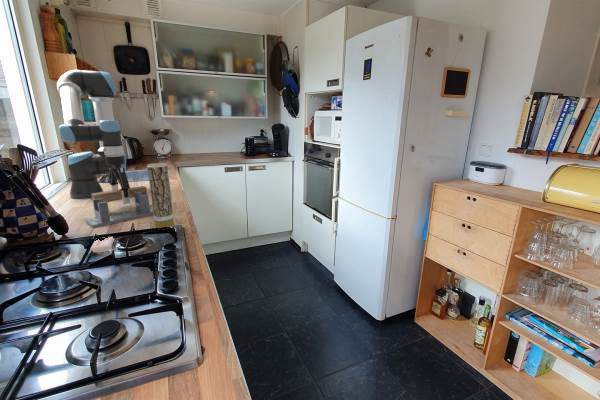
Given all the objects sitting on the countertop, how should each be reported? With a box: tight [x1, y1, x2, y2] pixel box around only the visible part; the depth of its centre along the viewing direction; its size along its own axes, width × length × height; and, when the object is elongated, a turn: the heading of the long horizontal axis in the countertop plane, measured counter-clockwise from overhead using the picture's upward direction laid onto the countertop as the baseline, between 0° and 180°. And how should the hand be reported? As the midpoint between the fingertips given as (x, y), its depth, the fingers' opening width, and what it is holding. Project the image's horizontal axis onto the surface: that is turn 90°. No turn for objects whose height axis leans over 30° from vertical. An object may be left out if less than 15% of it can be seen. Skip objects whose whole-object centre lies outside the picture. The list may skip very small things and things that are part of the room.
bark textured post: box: [146, 162, 175, 229], centre depth 116 cm, size 7×7×25 cm
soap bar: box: [90, 236, 115, 252], centre depth 101 cm, size 5×9×2 cm, turn 23°
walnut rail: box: [91, 185, 148, 203], centre depth 142 cm, size 4×22×4 cm, turn 137°
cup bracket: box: [84, 192, 154, 229], centre depth 131 cm, size 10×26×9 cm, turn 137°
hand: (121, 201), depth 143 cm, fingers open, 13 cm apart
